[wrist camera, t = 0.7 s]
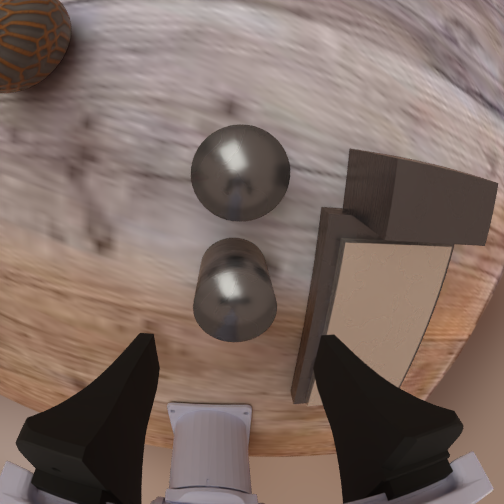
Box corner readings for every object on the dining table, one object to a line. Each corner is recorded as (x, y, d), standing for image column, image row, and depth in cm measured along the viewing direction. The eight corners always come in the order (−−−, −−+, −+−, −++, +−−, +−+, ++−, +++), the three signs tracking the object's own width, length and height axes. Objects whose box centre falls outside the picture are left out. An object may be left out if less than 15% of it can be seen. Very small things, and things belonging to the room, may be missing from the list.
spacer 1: (271, 199, 19) (285, 222, 14) (200, 197, 18) (190, 220, 14) (276, 129, 17) (293, 128, 12) (202, 126, 16) (192, 123, 12)
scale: (392, 378, 26) (416, 420, 21) (290, 391, 25) (302, 443, 20) (455, 169, 18) (510, 187, 13) (327, 145, 17) (370, 153, 12)
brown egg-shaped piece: (86, 75, 14) (2, 52, 6) (11, 108, 14) (-75, 114, 6) (86, -6, 12) (22, -56, 4) (12, 31, 11) (-61, 12, 3)
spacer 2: (263, 297, 21) (272, 341, 17) (201, 296, 21) (195, 341, 16) (268, 238, 20) (280, 273, 15) (200, 237, 19) (191, 271, 15)
